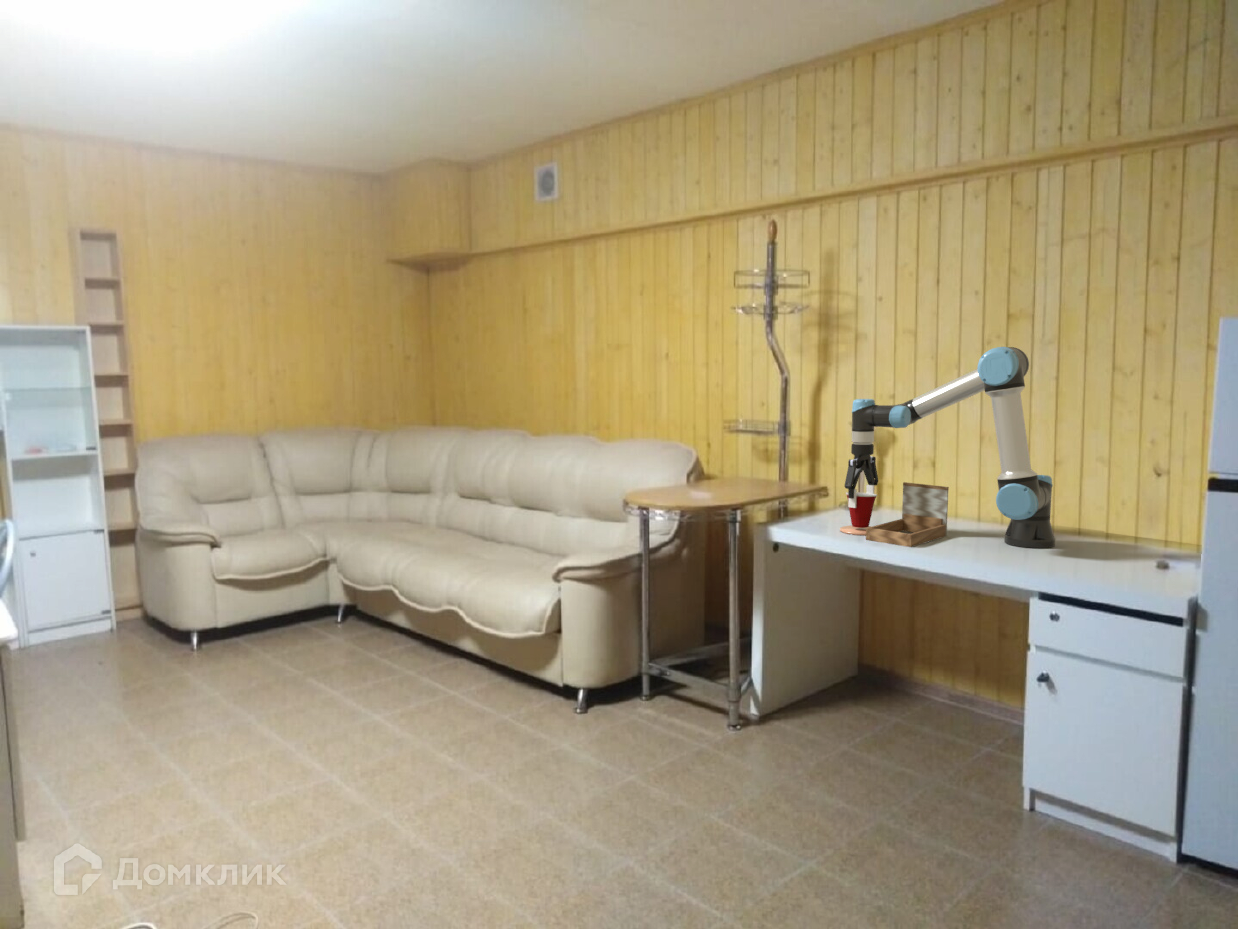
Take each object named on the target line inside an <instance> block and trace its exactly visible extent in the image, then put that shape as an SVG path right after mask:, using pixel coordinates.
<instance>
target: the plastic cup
mask: <svg viewBox="0 0 1238 929" xmlns="http://www.w3.org/2000/svg"><path fill="white" fill-rule="evenodd" d="M845 494H846V497H847V500H848V498H849V497H848V492H847V491H846V492H845ZM877 496H878V494H876V493H874V494H871V493H866V492H857V497H856V508H851V507H848V510H849V517H850V521H851V526H853V527H858V528H866V527H869V526H870V524H871V518H872V514H873V509H874V503H875V500H876V498H877Z"/></svg>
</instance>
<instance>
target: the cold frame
mask: <svg viewBox="0 0 1238 929" xmlns="http://www.w3.org/2000/svg"><path fill="white" fill-rule="evenodd" d="M948 506H949V486H942V485H931V484H923V483H914V482H905V481H904V482H902V507H901V508H902V512H901V518H899V519H896V520H892V521H888V522H885V523H880V524H877V525H873V526H871V527H869V528H866V536H865V540H866V541H872V542H877V543H883V544H890V545H897V546H903V547H909V548H912V546H913V547H915V546H919V545H922V544H925V542H926V543H928V541H929V542H931V540H932V541H935V540H938V539H942V538H945V537H947V536H948V533H947V532H948V513H949V512H948V508H949V507H948ZM906 532H907V533H906ZM909 532H910V533H909Z"/></svg>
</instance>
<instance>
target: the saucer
mask: <svg viewBox="0 0 1238 929" xmlns="http://www.w3.org/2000/svg"><path fill="white" fill-rule="evenodd" d="M869 527H872V526H871V525H869ZM869 527H866V528H869ZM866 528H858V527H853V526H852V525H843V526H841V527H840V528H839V532H841V533H842V534H845V535H850V534H852V535H851V536H865V537H866Z"/></svg>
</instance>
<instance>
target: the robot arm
mask: <svg viewBox="0 0 1238 929" xmlns="http://www.w3.org/2000/svg"><path fill="white" fill-rule="evenodd" d="M976 367H977V369H974V370H972V371H970V372H968V373H966V374H963V375H961V376H958V377H957V378H955V379H952V380H951V381H950V380H949V382H946V383H944V384H942V385H940V386H938V387H935V388H933V389H930V390H929V391H927V392H925V393H923V394H920V395H918V396H916V397H914V398H912V399H909V400H907V401H905V402H903V403H898V404H891V405H888V404H887V405H885V404H883V405H880V404H876V402H875V399H873V398H856V399H855V398H854V400H853V401H852V407H851V408H852V409H851V442H852V443H851V449H850V450H851V451H850V453H851V454H852V455H853V456H854V457H853V459H848V462H847V463H848V465H847V466H848V467H847V471H846V476H845V477H846V478H845V480H844V488H845V489H847V490H848V497H849V498H848V499H847V502H848V505H847V506H848V508H849V507H851V508H856V497H857V490H858V489H857V488H856V486H857V484H858V481H859V478H860V475H861V473H862V472H863V473H864V477H865V479H866V482H867V484H866V492H865V493H871V494H875V486H878V485H879V475H878V470H877V464H876V462H877V460H876V459H877V458H876V456H872V455H874V452H875V451H874V450H875V448H874V446H875V445H874V444H873V443H874V442H875V428H893V429H903V428H905V429H906V428H908V426H910V425H912V424H914V423H916V422H917V421H920V420H922V419H923V418H925V417H928V416H930V415H933V414H935V413H936V412H939V411H941V410H943V409H945V408H948V407H950V406H953V405H955V404H957V403H959V402H962V401H964V400H966V399H969V398H971V397H973V396H976V395H978V394H980V393H982V392H984V393H985V394H986V395H987V396H989V398H991V399H990V401H991V408H992V414H993V415H992V416H993V421H994V427H995V428H994V429H995V436H996V443H997V451H998V457H999V462H1000V464H999V465H1000V470H1001V473H1000V474H998V476H997V478H996V479H997V486H998V491H997V493H996V497H995V503H996V507H997V509H998V510H999V512H1000V513H1001V515H1003V516H1004V517H1006V518H1008V519H1009V523H1008V526H1007V528H1006V531H1005V533H1004V538H1003V541H1004V543H1005V544H1007V545H1010V546H1015V547H1021V548H1029V549H1031V548H1032V549H1034V548H1035V549H1046V548H1047V549H1048V548H1052V547H1055V546H1056V537H1055V534H1054V531H1053V530H1054V529H1053V527H1052V524H1051V510H1052V495H1053V494H1052V491H1053V490H1052V489H1053V478H1052V477H1051V476H1050V475H1048V474H1047V475H1044V474H1038V473H1037V472H1036V471H1035V470H1032V466H1031V458H1030V451H1029V444H1028V437H1027V430H1026V423H1025V417H1024V416H1025V415H1024V410H1023V403H1022V394H1021V393H1022V392H1023V390H1024V389H1025V388H1026V385H1025V377H1026V375H1027V374H1028V371H1029V367H1030V361H1029V358H1028V356H1027V353H1025V352H1024V351H1023V350H1022V349H1020V348H1017V347H1013V346H1009V347H1008V346H997V347H993V348H991V349H988V350H987V351H986V352H984V353H983V354H982V356H981V357H980V358H979V360H978V363H977V366H976Z"/></svg>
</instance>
